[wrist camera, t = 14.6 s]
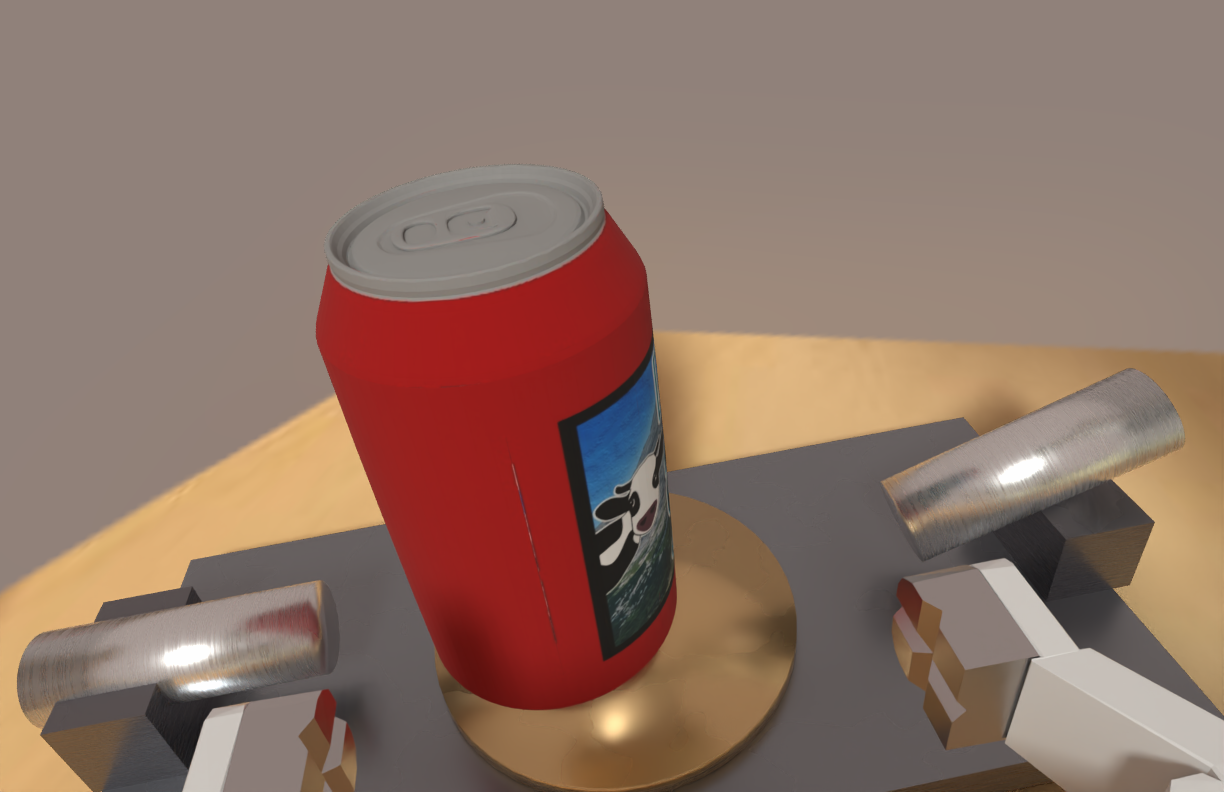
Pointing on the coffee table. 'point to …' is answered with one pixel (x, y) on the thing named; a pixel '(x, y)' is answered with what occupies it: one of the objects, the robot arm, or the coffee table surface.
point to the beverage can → (509, 424)
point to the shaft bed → (696, 643)
